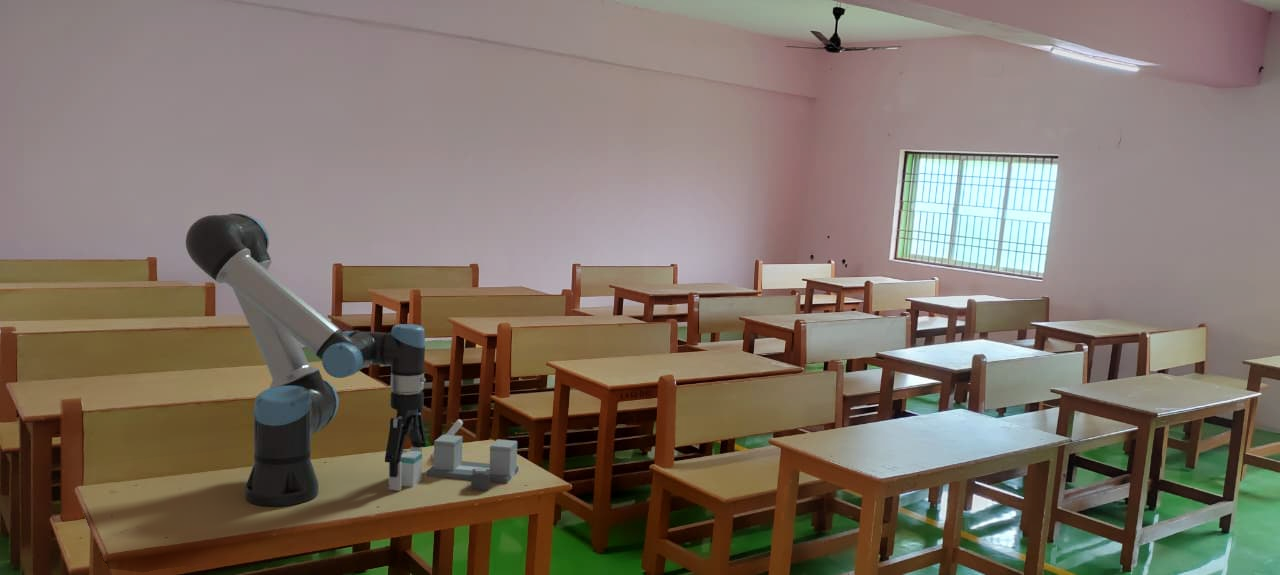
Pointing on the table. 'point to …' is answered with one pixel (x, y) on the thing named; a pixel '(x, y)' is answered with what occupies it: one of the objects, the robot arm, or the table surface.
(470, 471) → the rail board
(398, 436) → the robot arm
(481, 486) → the block
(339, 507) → the table surface
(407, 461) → the block
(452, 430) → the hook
